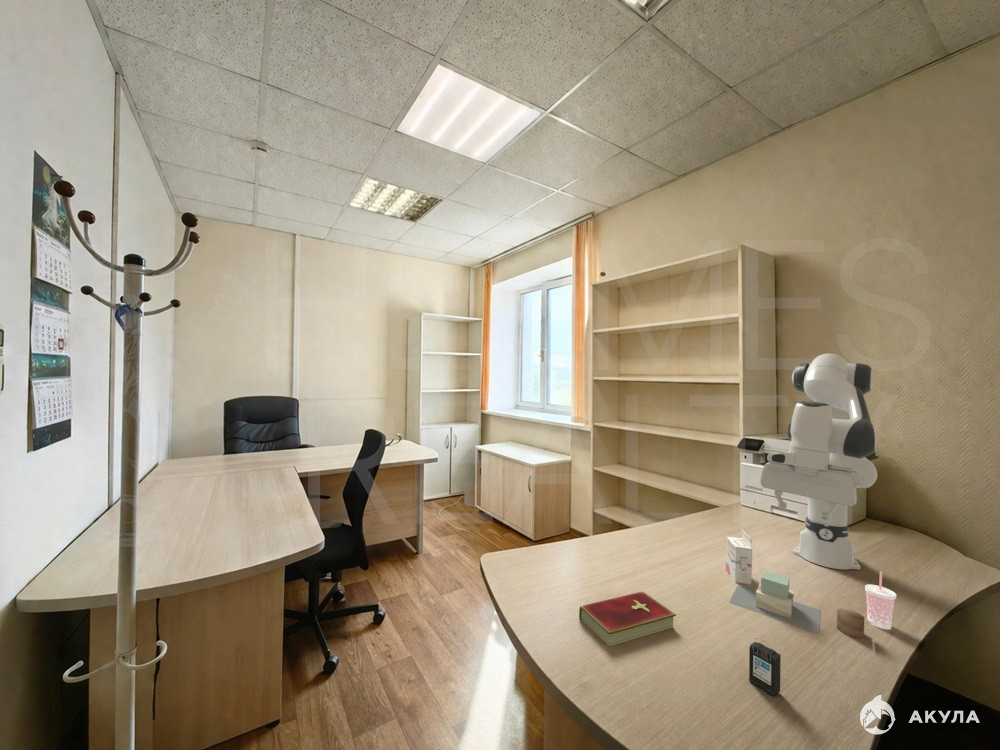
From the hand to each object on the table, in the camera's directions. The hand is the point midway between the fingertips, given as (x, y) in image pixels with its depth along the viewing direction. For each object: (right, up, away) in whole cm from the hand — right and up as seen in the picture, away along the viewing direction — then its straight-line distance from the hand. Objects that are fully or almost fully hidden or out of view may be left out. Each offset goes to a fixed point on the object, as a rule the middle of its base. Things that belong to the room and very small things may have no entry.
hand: (803, 514), depth 105 cm
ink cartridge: (-25, -28, -22) cm, 44 cm away
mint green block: (-3, -24, +7) cm, 25 cm away
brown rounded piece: (+9, -29, -3) cm, 31 cm away
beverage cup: (+21, -30, +1) cm, 37 cm away
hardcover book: (-47, -28, -2) cm, 55 cm away
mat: (-3, -29, +7) cm, 30 cm away
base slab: (-3, -28, +7) cm, 29 cm away
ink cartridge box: (-3, -29, +23) cm, 37 cm away
